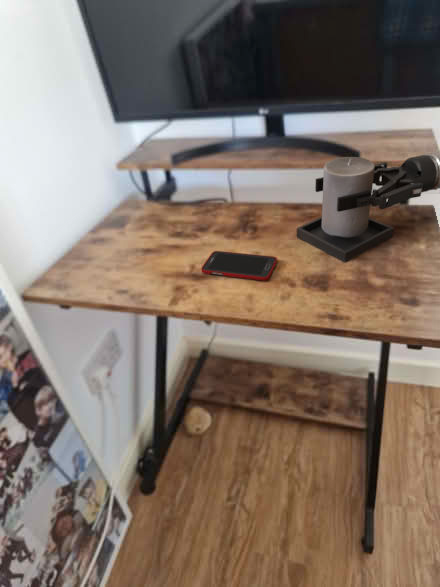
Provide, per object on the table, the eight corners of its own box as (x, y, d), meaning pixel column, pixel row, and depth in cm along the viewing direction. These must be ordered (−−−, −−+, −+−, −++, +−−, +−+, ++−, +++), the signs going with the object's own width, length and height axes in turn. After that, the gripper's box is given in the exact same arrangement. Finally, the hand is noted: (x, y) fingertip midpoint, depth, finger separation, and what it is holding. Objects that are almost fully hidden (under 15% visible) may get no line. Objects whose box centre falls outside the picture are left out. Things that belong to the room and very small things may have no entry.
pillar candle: (352, 212, 92) (358, 146, 83) (376, 231, 85) (386, 161, 75) (313, 222, 91) (315, 156, 82) (334, 242, 83) (338, 172, 74)
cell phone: (268, 282, 79) (268, 278, 78) (200, 273, 84) (199, 269, 84) (278, 260, 84) (278, 256, 84) (213, 254, 90) (213, 250, 89)
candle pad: (392, 237, 87) (394, 227, 85) (344, 262, 81) (345, 253, 80) (342, 215, 97) (342, 206, 96) (296, 237, 92) (296, 228, 90)
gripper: (458, 210, 78) (351, 235, 76) (394, 172, 96) (305, 191, 93) (468, 173, 73) (354, 198, 71) (398, 140, 91) (305, 159, 89)
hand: (326, 194), depth 82 cm, fingers closed on pillar candle, 9 cm apart
